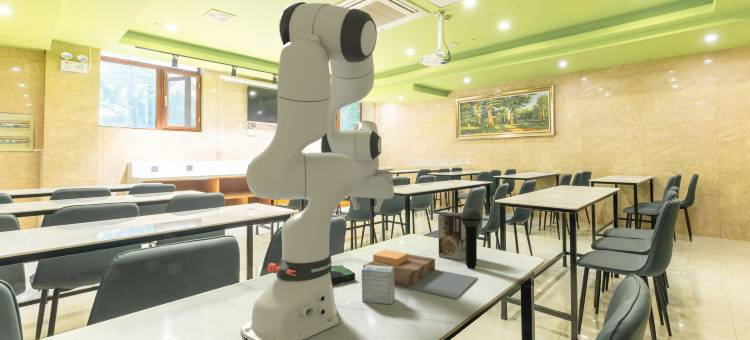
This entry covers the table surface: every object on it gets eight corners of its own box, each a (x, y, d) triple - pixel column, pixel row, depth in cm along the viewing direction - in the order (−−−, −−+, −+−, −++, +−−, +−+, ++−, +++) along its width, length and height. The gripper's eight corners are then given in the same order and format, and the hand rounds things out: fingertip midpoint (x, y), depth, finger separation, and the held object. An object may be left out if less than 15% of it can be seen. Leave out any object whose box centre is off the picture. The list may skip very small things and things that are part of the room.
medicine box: (395, 298, 91) (394, 266, 91) (391, 305, 87) (390, 271, 86) (366, 295, 93) (366, 264, 93) (361, 302, 89) (361, 269, 89)
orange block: (397, 265, 106) (397, 259, 106) (373, 260, 111) (373, 254, 111) (408, 259, 112) (408, 253, 111) (384, 255, 117) (384, 249, 116)
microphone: (481, 271, 111) (481, 210, 110) (460, 270, 112) (460, 209, 112) (481, 265, 117) (481, 207, 116) (461, 264, 119) (461, 206, 118)
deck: (408, 288, 97) (408, 274, 97) (363, 278, 106) (363, 265, 106) (435, 270, 112) (434, 258, 112) (393, 262, 121) (393, 251, 121)
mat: (455, 299, 90) (455, 298, 90) (408, 288, 97) (408, 287, 97) (477, 278, 104) (477, 277, 104) (435, 270, 112) (435, 269, 112)
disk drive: (309, 292, 97) (356, 281, 105) (309, 283, 97) (355, 272, 105) (298, 281, 106) (341, 271, 114) (298, 272, 106) (341, 263, 114)
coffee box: (467, 256, 128) (467, 213, 127) (461, 260, 123) (461, 216, 122) (444, 252, 133) (443, 211, 132) (437, 256, 127) (437, 214, 127)
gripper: (397, 170, 112) (397, 212, 113) (348, 169, 123) (349, 207, 124) (387, 171, 107) (387, 215, 107) (337, 169, 118) (337, 209, 119)
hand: (366, 210), depth 116 cm, fingers open, 7 cm apart
